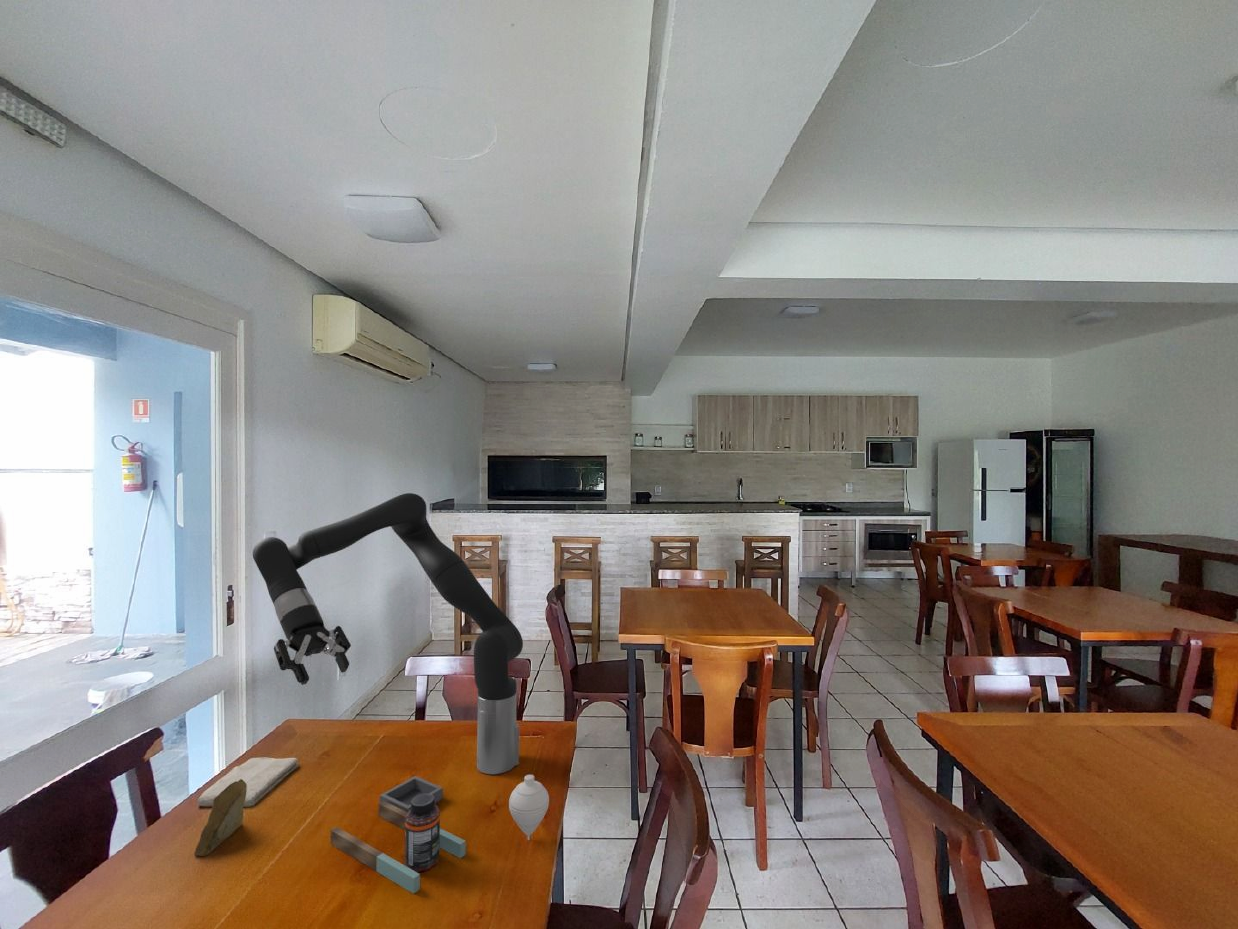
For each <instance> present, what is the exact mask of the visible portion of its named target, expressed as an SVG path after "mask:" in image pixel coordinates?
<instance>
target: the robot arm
mask: <svg viewBox="0 0 1238 929" xmlns="http://www.w3.org/2000/svg"><path fill="white" fill-rule="evenodd" d="M427 512H428V511H427V503H426V501H425V499H424V498H423V497H422V496H420V495H419V494H416V493H412V492H409V493H402V494H399V495H397V496H395V497H392V498H390V499H388V500H387V501H384V502H381V503H380V504H378V505H375V506H373V507H370V508H368V509H366V510H364V511H363V512H359V513H358V514H355V515H352V516H350V517H348V518H347V517H346V518H344V519H341V520H339V521H336V522H333V523H330V524H326V525H323V526H320V527H317V528H314V529H312V530H308V531H304V532H302V533H300V535H299V537H298V540H297V542H296V543H294V544H291V545H290V546H288V545H287V543H286V542H284V541H283V540H282V539H281V538H278V537H273V536H270V537H265V538H263V539H260V540H259V541H258V542H256V544H255V545H254V547H253V548H252V559H253V561H254V563H255V564H256V567H257V569H258V571H259V573H260V575H261V577H262V578H263V580H264V582H265V584H266V588H267V591H268V595H269V597H270V600H271V602H272V604H273V607H274V610H275V614H276V617H277V618H278V621H279V624H280V625H281V629H282V631H283V633H284V635H285V638H286V639H287V640H285V639H282V638H280V639H278V640H277V641H276V643H275V645H274V647H273V651H274V654H275V658H276V661H277V664H278V666H279V669H280V671H286V670H291V671H292V672H293V674H294V676H295V679H296V681H297V682H298V683H299V684H301V685H302V686H304V685H307V683H308V682H309V680H310V677H309V676H310V675H309V674H308V672H307V669H306V667H305V665H304V663H302V660H303V657H304V656H305V657H310V656H312V655H317V654H321V653H323V654H325V655H326V656H327V655H329V656H331V657H333V658H335V662H336V664H337V666H338V668H339V671H340V672H341V673H345V672H347V670H348V669H349V666H350V661H349V660H348V659H349V658H348V657H347V656H346V654H347V652H348V651H349V649H350V648H351V646H352V645H351V643H350V642H349V639H348V638H347V636H346V633H345V632H344V629H343V628H342V627H341V626H340V625H337V626H336V627H335V628H334V629H331V630H328V629H327V628H326V627H325V623H324V619H323V618H322V616H321V613H320V611H319V610H318V606H317V605H316V603H315V601H314V599H313V597H312V595H311V594H310V593H309V591H308V587H307V586H306V584H305V582H304V580H303V578H302V576H301V575H300V573H299V572H298V570H299V569H300V568H302V567H303V566H306V565H308V564H309V563H310V562H312V561H314V560H316V559H319V558H322V557H323V558H324V557H327V556H328V555H332V554H335V553H338V552H340V551H342V550H344V549H347V548H349V547H351V546H353V545H354V544H356V543H357V542H359V541H361V540H362V539H364V538H366V537H367V536H369V535H370V534H373V533H375V532H377V531H380V530H382V529H386V528H389V527H391V529H392V530H393V531H394V533H395V534H396V535H397V537H399V538H400V540H401V541H402V542H403V543H404V544H405V545H406V547H408V548H409V549H410V551H411V552H412V553H413V554H414V556H415V557H416V559H417V560H418V562H419V565H420V566H421V567H422V569H423V571H424V572H425V574H426V575H427V577H428V578H429V580H430V582H431V583H432V585H433V586H434V587H435V589H436V590H437V592H438V594H440V596H441V597H442V598H443V599H444V601H446V602H447V603H448V604H449V605H451V606H452V607H454V608H455V609H457V610H458V611H460V612H462V613H463V614H465V615H467V617H469V618H470V619H472V621H474V622H475V624H476V625H477V626H478V627H479V628H480V630H481V631H482V632H480V633H479V635H478V636H477V637H476V640H475V642H474V647H473V668H474V669H473V671H474V682H475V686H476V688H477V725H476V726H477V727H476V728H477V730H476V731H477V732H476V734H477V735H476V738H477V739H476V769H477V770H478V771H479V772H480V773H483V774H486V775H499V774H504V773H506V772H509V771H510V770H513V768H515V766H519V764H520V759H519V758H520V724H519V723H518V722H517V690H518V689H517V688H518V687H517V681H516V679H515V678H514V677H512V676H509V662H511V661H513V660H515V658H517V657H518V656H519V655H520V654H521V652H522V651H523V648H524V640H523V637H522V634H521V632H520V630H519V629H518V628H517V626H516V625H515V623H513V621H511V619H509V618H508V616H507V615H506V614H505V613H504V612H503V611H502V610H501V609H500V607H498V605H497V604H496V603H495V601H493V599H492V598H491V597H490V595H489V594H488V592H487V591H486V590H485V588H484V587H483V586H482V585H481V584H480V582H479V581H478V579H477V578H476V576H475V575H474V573H473V572H472V571H471V569H470V568H469V567H468V565H467V564H466V562H465V561H464V560H463V559H462V557H461V556H460V555H458V553H457V552H455V551H454V550H453V549H452V548H449V547H448V546H447V545H446V544H445V543H443V542H442V541H441V540H440V539H439V537H438V536H437V535H436V533H435V532H434V530H433V528H432V526H431V525H430V523H429V521H428V518H427ZM327 645H328V647H327ZM289 648H290V649H292V650H293V651H295V654H294V657H293V659H291V656H290V654H289V651H288V649H289Z"/></svg>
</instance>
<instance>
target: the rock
mask: <svg viewBox="0 0 1238 929" xmlns="http://www.w3.org/2000/svg"><path fill="white" fill-rule="evenodd" d="M246 792H247V784H246V783H245V782H244V781H243V780H242V779H240V780H239V781H235V782H233V783H232V784H230V785H229V786H228V787H226V788H225V789H224V790H223V791H222V792H221V793H220V794H219V795H218V796H217V797H215V798H214V800H213V806H212V807H211V808H212V809H211V811H210V813H209V817H208V818H207V819H208V821H207V822H206V824H205V825H204V828H203V829H202V831H201V834H200V836H199V837H200V838H199V841H198V843H197V845H196V848H195V851H194V853H193V855H194V856H201V857H203V856H204V857H205V856H207V855H209V854H210V853H211V852H212V851H213V850H214V849H216V848H217V847H218V846H220V844H221V843H222V842H223V841H224V840H226V839H228V838H229V837H230V836H231V835H232V834H233V833H234V832H235V831H236V830H237V829H239V828H240V827H241V826H242V824H243V821H244V807H245V806H244V802H245V798H246Z"/></svg>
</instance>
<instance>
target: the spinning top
mask: <svg viewBox="0 0 1238 929" xmlns="http://www.w3.org/2000/svg"><path fill="white" fill-rule="evenodd" d="M523 779H524V781H521V782H520V783H519V784H517V785H516V787H515V788H514V789H513V791H512V792H511V794H510V796H509V800H508V810H509V812H510V815H511V817H512V819H513V821H514V822H515V824H516V825H517V826H518V827H519V829H520V830H521V831H522V833H523V834H524V835H526V837H527V840H528V841H530V837H531V835H532V834H533V833H534V832H535V831H536V830H537V828H538V827H539V825H540V824H541V823H542V821H543V819H544V817H545V815H546V814H547V811H548V808H549V806H550V796H549V792H548V791H547V788H545V786H544V785H543V784H542V783H541V782H540V781H537V780H535V776H534V774H526V775H525V776H524V778H523Z"/></svg>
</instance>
